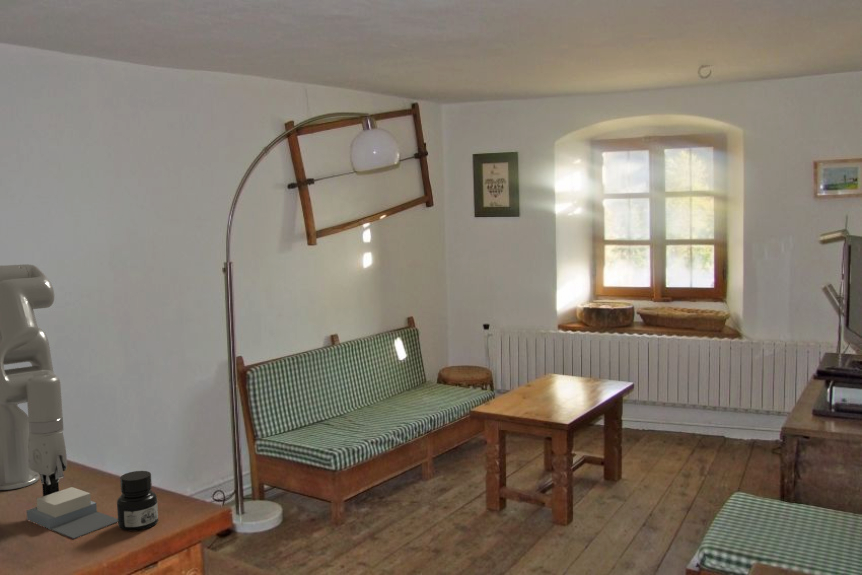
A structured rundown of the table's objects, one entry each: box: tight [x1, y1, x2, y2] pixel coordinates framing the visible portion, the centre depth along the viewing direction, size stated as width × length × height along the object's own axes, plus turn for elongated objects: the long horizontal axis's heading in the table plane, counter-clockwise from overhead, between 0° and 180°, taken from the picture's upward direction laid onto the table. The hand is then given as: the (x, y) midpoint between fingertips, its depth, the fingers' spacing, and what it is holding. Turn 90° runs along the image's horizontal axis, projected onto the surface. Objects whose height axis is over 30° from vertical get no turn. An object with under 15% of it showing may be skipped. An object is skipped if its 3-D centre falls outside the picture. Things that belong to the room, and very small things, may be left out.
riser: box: [26, 500, 98, 530], centre depth 188 cm, size 10×12×2 cm
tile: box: [36, 486, 92, 518], centre depth 187 cm, size 8×9×3 cm
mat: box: [50, 511, 118, 540], centre depth 183 cm, size 10×12×1 cm
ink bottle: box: [116, 470, 159, 532], centre depth 182 cm, size 10×9×12 cm
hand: (51, 498), depth 191 cm, fingers closed
